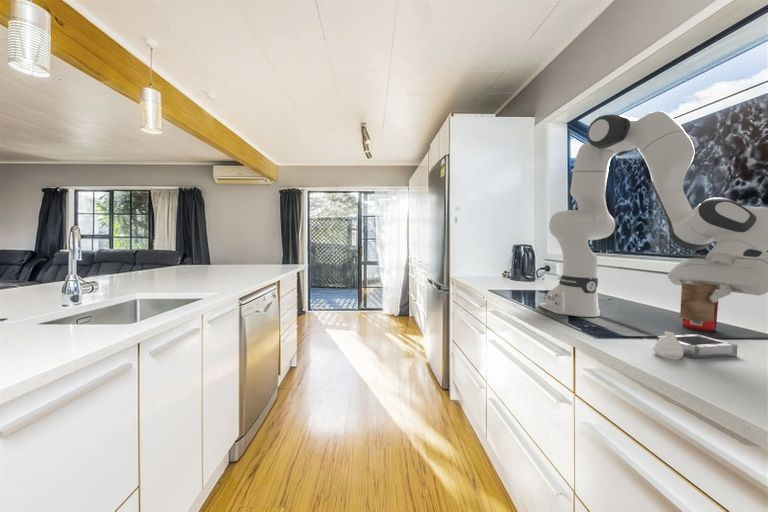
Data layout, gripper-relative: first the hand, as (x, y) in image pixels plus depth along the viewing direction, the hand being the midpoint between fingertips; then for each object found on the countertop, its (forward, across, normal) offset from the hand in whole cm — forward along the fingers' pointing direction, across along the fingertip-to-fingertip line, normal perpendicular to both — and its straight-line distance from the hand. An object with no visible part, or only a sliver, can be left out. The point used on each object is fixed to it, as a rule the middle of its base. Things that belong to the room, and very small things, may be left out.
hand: (697, 298), depth 83 cm
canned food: (-9, -18, +28) cm, 35 cm away
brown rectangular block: (+4, 0, +4) cm, 5 cm away
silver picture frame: (+9, 0, +10) cm, 14 cm away
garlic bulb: (+17, +2, +2) cm, 17 cm away
